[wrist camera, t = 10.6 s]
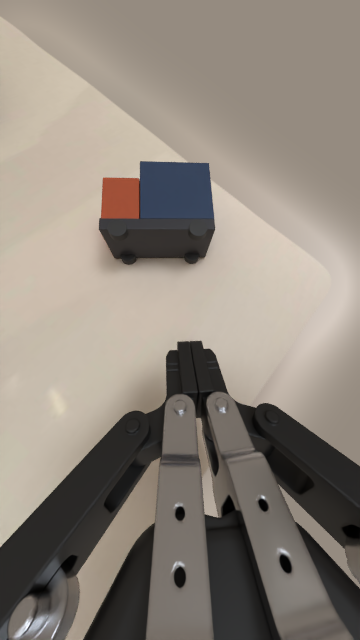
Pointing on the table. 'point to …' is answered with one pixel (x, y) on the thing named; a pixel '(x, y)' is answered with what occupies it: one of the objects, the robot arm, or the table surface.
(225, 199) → the table surface
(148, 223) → the toy truck
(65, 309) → the table surface
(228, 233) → the table surface
